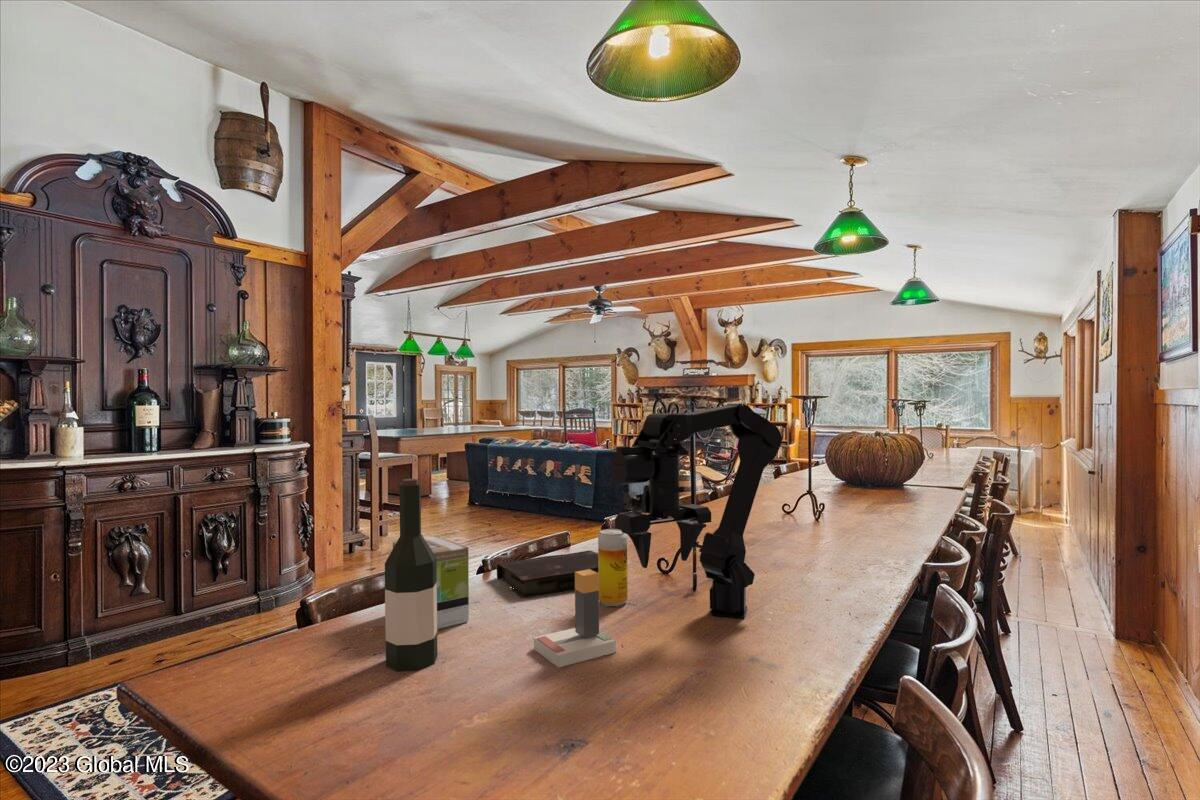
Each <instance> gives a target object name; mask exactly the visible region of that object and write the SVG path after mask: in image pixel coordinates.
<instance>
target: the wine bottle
mask: <svg viewBox="0 0 1200 800" xmlns="http://www.w3.org/2000/svg"><path fill="white" fill-rule="evenodd" d="M418 480H419V479H417V478H404V479H402V480H401V482H402V483H401V484H399V488H398V489H399V491H398V492H399V537H398V539H397V541H396V542H397V543H396V544H395V546H394V548H393V547H392V550H391V551H390V553H389V555H388V557H387V559H386V561H385V562H384V608H385V610H384V615H385V619H384V621H385V622H384V623H385V626H384V627H385V630H384V631H385V667H387V668H389V669H391V670H394V671H395V672H412V671H417V672H418V671H420V670H422V669H424V668H428V667H430V666H432V665H434V664H435V663H436V660H437V659H438V629H437V573H436V556H435V554H434V553H433V551H432V550H431V548H430V547H429V545H428V544H427V542H426V541H425V539H424V538H425V537H424V536H423V535H422V506H421V505H422V500H421V499H422V496H421V495H422V494H421V491H422V490H421V486H422V485H421V483H419V482H418Z"/></svg>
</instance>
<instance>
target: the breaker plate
mask: <svg viewBox="0 0 1200 800" xmlns="http://www.w3.org/2000/svg"><path fill="white" fill-rule="evenodd" d="M616 642H617V641H616V640H615V639H614V638H613V637H611V636H609V635H608V634H607V633H605V632H603V631H602V630H599V634H597V635H593V636H589V637H585V638H584V637H582V636H581V635H579V634H577V633H576V632H575V627H573V628H569V629H565V630H564V629H563V630H560V631H556V632H552V633H547V634H543V635H542V634H541V635H538V636H534V637H533V650H534V651H536V652H537V653H539V654H540V655H541V656H542V657H543V658H545V659H547V660H548V661H549V662H550V663H551V664H553V665H554V666H555V667H557V668H562V667H566V666H570V665H574V664H576V663H577V664H578V663H581V662H585V661H589V660H593V659H597V658H600V657H604V655H605V656H607V655H612V654H616V653H617V650H616V649H617V643H616ZM615 652H616V653H615Z"/></svg>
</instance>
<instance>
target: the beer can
mask: <svg viewBox="0 0 1200 800" xmlns="http://www.w3.org/2000/svg"><path fill="white" fill-rule="evenodd" d="M597 541H598V542H597V549H598V550H597V551H598V552H597V553H598V573H599V602H601V605H603V604H604V605H603V606H605V605H606V606H605V607H610V606H616V607H621V606H624V605H625V604H626V602H627V601H628V599H629V598H628V596H629V595H628V584H629V583H628V535H627V534H625V533H622V531H621V530H619V529H616V528H606V529H601V530H599V534H598V536H597ZM623 604H624V605H623ZM620 605H621V606H620Z"/></svg>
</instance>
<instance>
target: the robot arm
mask: <svg viewBox="0 0 1200 800" xmlns="http://www.w3.org/2000/svg"><path fill="white" fill-rule="evenodd" d="M727 426H729V429H730V432H731V434H732V435H733V436H734V437H735V438H736V439H737V440H738V441H737V446H736V447H737V448H736V449H737V453H738V458H739V464H738V466H737V469H736V473H735V475H734V479H733V481H732V482H733V483H732V485H731V488H730V492H729V495H728V497H727V501H726V504H725V507H724V511H723V514H722V517H721V519H720V523H719V525H718V528H717V529H715V531H714V532H712V533H711V532H706V533H705V534H704V536H703V542H702V544H701V546H700V548H699V550H698V552H700V555H699V562H700V564H701V568H702V569H703V570H704V574H705V577H706V578H707V579H710V580H712V585H711V586H710V588H709V610H711V612H710V615H711V616H717V617H728V618H738V619H745V618H746V614H747V610H748V606H747V588H748V587H749V586H750V585H753V583H754V579H755V572H754V571H753V570H752V569H751V568H750V567H749V565H747V563H746V562H745V559H746V553H747V550H746V546H745V545H746V544H745V540H744V534H745V529H746V528H747V524H748V520H749V517H750V514H751V511H752V507H753V504H754V503H755V502H754V500H755V498H756V495H757V492H758V489H759V485H760V483H761V479H762V476H763V474H764V470H765V468H766V467H767V466H768V465H769V464H770V463H771V462H773V460H775V458H776V456H777V455H778V452H779V450H780V448H781V446H782V443H783V435H782V433H781V430H780V429H779V427H778V426H776V425H775V424H773V423H772V422H771V421H770V420H769V419H767V418H766V417H763V416H762V415H760V414H758V413H757V412H755V411H754V410H753V409H752V408H751V407H750V406H749V405H747V404H746V403H727V404H726V405H721V406H715V407H711V408H707V409H701V410H696V411H691V412H685V413H664V412H660V413H659V412H653V413H650V414H648V415H647V416H646V417H645V420H644V422H643V426H642V428H641V429H640V431H639V433H638V435H637V436H636V438H635V439H634V441H633V443H632V445H631V446H625V445H624V446H623V445H620V446H619V445H617V446H616V448H615V449H616V450H615V451H616V452H615V453H614V454H613V456H612V458H611V460H610V463H609V473H610V476H611V479H612V481H613V482H614V483H615V484H617V485H619V486H620V485H629V484H641V483H647V482H648V484H645V485H644V486H643V493H638V494H637V491H633V490H632V491H626V492H623V498H622V499H623V507H624V509H625V510H631V511H625V512H618V513H617V515H616V516H615V519H614V529H619V530H621V531H622V533H625V534H626V535H627V537H629V538H630V540H631V542H632V543H633V546H634V548H635V551H636V554H637V556H638V559H639V562H640V565H641V567H642V568H643V569H648V565H649V560H650V551H651V541H652V532H649V530H650V527H651V525H657V524H666V523H674V522H676V525H677V527H678V529H679V533H680V534H679V535H680V536H679V537H680V540H679V541H680V542H679V544H680V547H679V548H680V558H681V561H684V562H687V561H688V558H689V556H690V555H691V551H692V549H693V547H694V545H695V543H696V542H697V540H698V538H699V536H700V534H701V532H702V531H703V529H704V528H707V523H712V512H711V510H710V508H709V507H708V506H704V505H700V504H694V503H690V504H681V505H680V493H685V487H684V486H682V485H680V457H681V456H688V455H689V454H690V452H689V450H687V449H686V448H685V447H684V446H683V445H682V442H684V441H686V440H688V439H690V438H691V437H692V435H695V434H698V433H701V432H706V431H709V430H714V429H718V428H724V427H727ZM674 438H675V439H677V440H674Z"/></svg>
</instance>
